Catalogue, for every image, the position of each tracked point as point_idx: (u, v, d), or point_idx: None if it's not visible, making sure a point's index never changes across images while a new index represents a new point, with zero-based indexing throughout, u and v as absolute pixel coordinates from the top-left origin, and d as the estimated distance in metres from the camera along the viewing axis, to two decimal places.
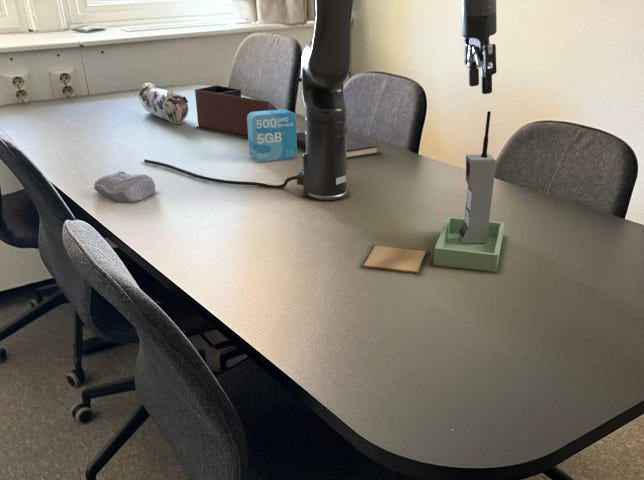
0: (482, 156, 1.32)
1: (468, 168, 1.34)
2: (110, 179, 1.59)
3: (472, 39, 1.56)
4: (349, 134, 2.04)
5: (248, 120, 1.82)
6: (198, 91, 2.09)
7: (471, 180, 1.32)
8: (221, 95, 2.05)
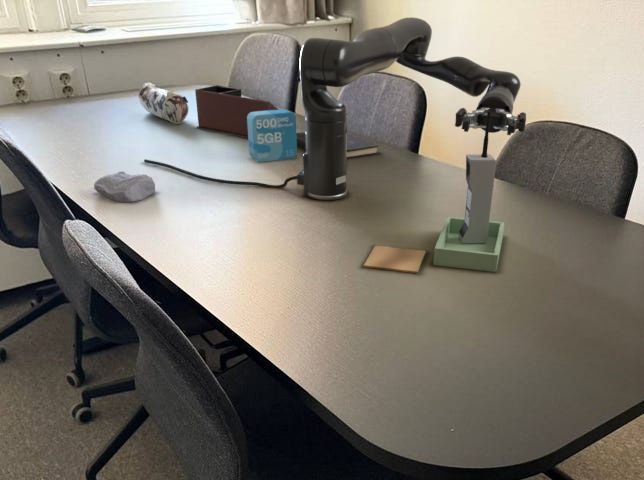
0: (482, 156, 1.32)
1: (468, 168, 1.34)
2: (110, 179, 1.59)
3: None
4: (349, 134, 2.04)
5: (248, 120, 1.82)
6: (198, 91, 2.09)
7: (471, 180, 1.32)
8: (221, 95, 2.05)
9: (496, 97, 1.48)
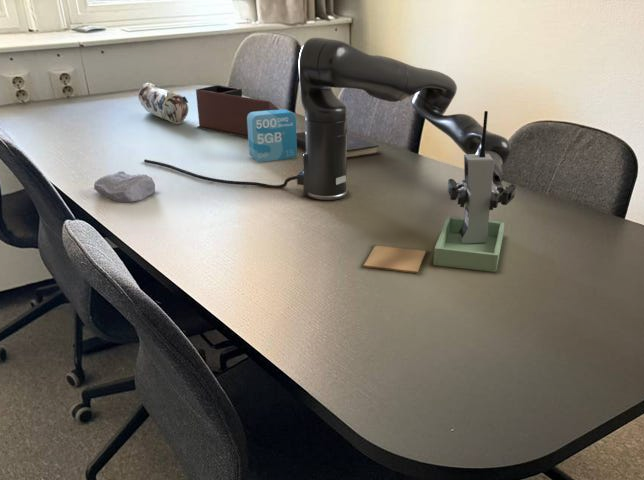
0: (480, 156, 1.32)
1: (467, 168, 1.34)
2: (110, 179, 1.59)
3: None
4: (349, 134, 2.04)
5: (248, 120, 1.82)
6: (199, 91, 2.09)
7: (469, 180, 1.32)
8: (222, 95, 2.05)
9: None
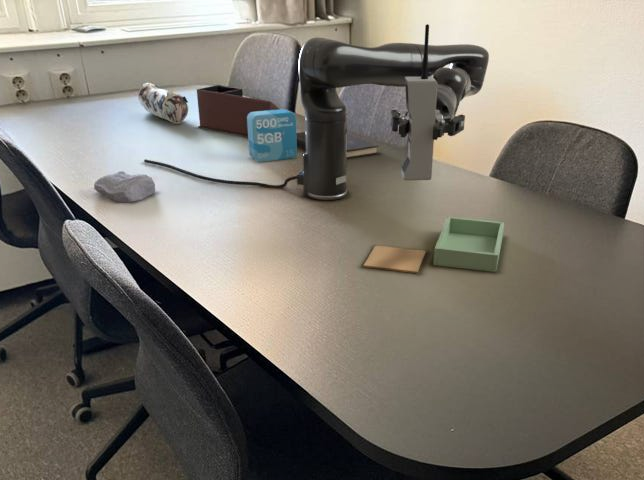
0: (422, 77, 1.17)
1: (408, 93, 1.20)
2: (110, 179, 1.59)
3: None
4: (349, 134, 2.04)
5: (248, 120, 1.82)
6: (200, 91, 2.10)
7: (410, 105, 1.18)
8: (223, 95, 2.06)
9: None
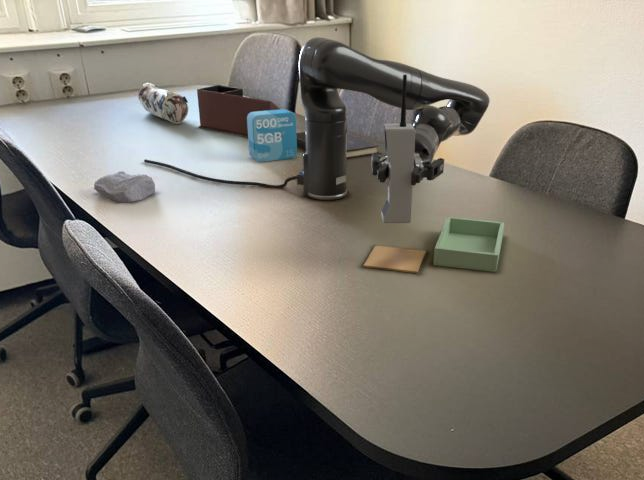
0: (400, 125, 1.19)
1: (387, 139, 1.22)
2: (110, 179, 1.59)
3: None
4: (349, 134, 2.04)
5: (248, 120, 1.82)
6: (200, 91, 2.10)
7: (389, 152, 1.20)
8: (223, 95, 2.06)
9: None
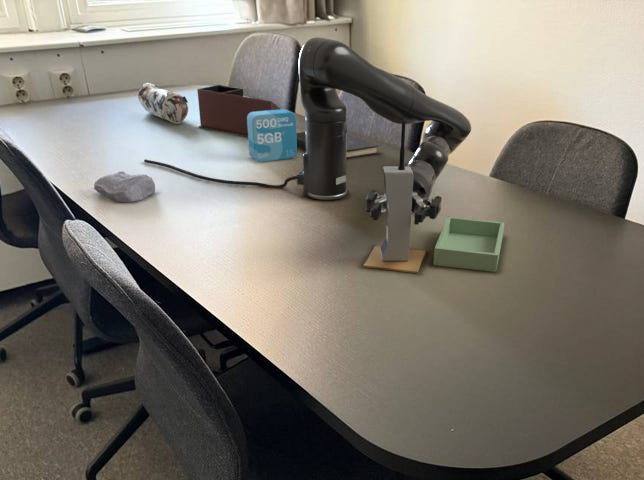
0: (399, 168, 1.23)
1: (386, 181, 1.26)
2: (110, 179, 1.59)
3: None
4: (349, 134, 2.04)
5: (248, 120, 1.82)
6: (201, 91, 2.10)
7: (387, 194, 1.24)
8: (224, 94, 2.06)
9: None
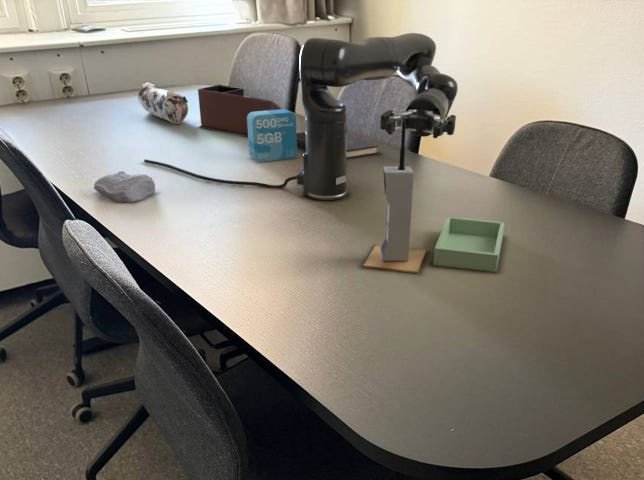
0: (399, 168, 1.23)
1: None
2: (110, 179, 1.59)
3: None
4: (349, 134, 2.04)
5: (248, 120, 1.82)
6: (201, 90, 2.10)
7: (388, 194, 1.24)
8: (224, 94, 2.06)
9: (425, 99, 1.39)
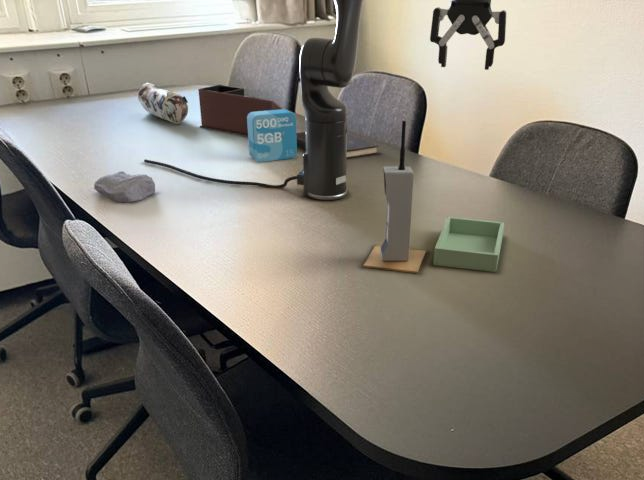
0: (399, 168, 1.23)
1: None
2: (110, 179, 1.59)
3: None
4: (349, 134, 2.04)
5: (248, 120, 1.82)
6: (202, 90, 2.10)
7: (388, 194, 1.24)
8: (225, 94, 2.06)
9: (470, 2, 1.30)
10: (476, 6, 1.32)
